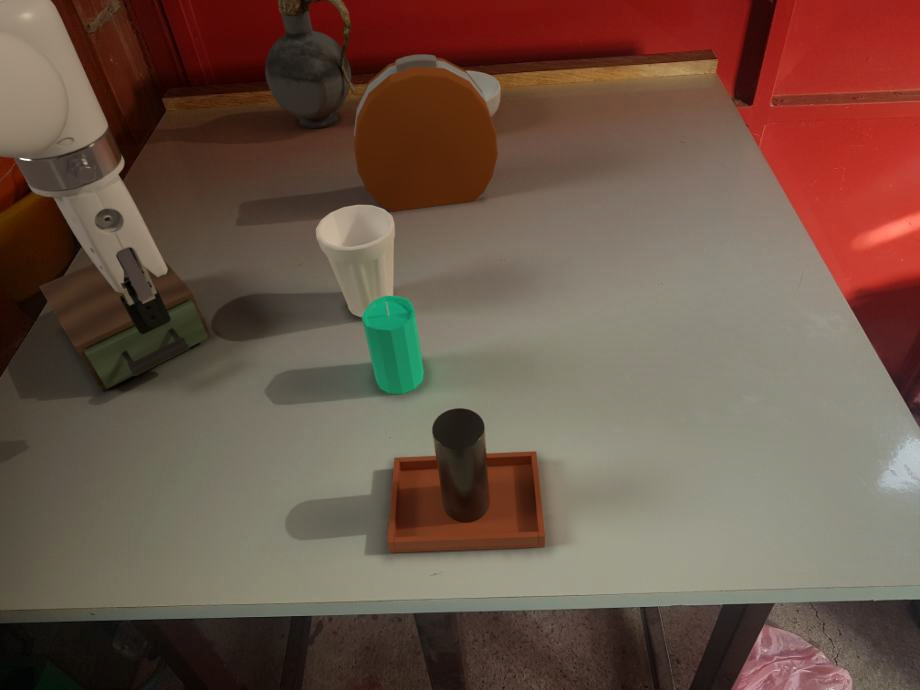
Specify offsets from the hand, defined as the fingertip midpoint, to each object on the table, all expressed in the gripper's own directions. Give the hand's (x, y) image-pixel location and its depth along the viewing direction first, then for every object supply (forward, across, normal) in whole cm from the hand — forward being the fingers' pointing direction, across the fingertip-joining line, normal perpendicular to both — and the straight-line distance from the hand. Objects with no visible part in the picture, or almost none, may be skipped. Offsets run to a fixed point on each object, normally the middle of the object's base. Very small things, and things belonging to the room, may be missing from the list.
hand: (153, 323), depth 69 cm
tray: (+17, -28, -16) cm, 37 cm away
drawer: (+16, +20, 0) cm, 25 cm away
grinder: (+17, -28, -16) cm, 36 cm away
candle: (+17, -8, -22) cm, 29 cm away
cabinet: (+17, +24, 0) cm, 29 cm away
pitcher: (+17, +60, -52) cm, 81 cm away
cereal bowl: (+17, +40, -70) cm, 82 cm away
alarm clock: (+17, +24, -51) cm, 59 cm away
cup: (+17, +6, -27) cm, 33 cm away
